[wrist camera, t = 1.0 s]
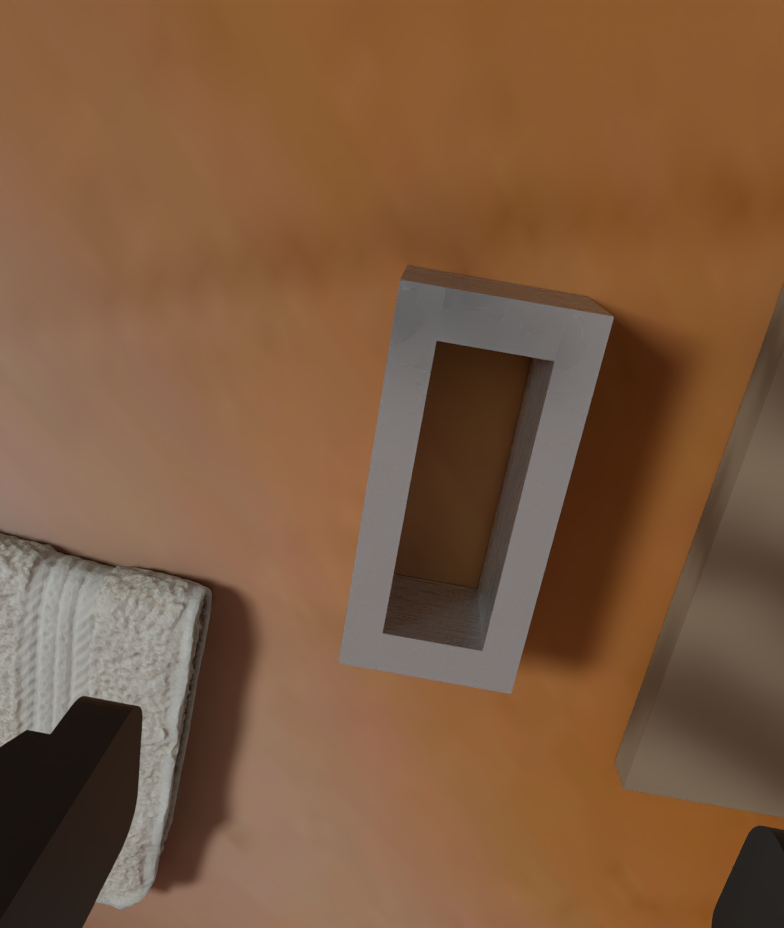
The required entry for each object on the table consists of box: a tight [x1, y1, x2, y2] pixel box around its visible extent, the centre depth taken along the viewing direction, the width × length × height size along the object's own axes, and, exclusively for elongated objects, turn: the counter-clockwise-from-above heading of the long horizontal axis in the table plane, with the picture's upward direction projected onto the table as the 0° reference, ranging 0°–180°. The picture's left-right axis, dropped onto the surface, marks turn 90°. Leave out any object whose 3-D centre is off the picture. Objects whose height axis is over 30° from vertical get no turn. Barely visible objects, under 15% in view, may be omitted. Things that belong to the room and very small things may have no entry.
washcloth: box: [0, 533, 212, 910], centre depth 30 cm, size 12×18×3 cm, turn 167°
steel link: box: [339, 265, 614, 694], centre depth 24 cm, size 13×6×4 cm, turn 171°
